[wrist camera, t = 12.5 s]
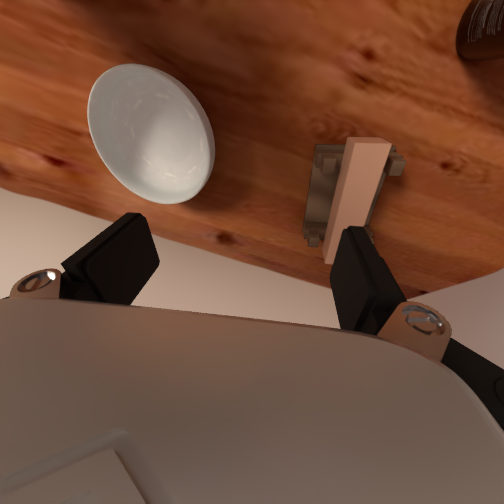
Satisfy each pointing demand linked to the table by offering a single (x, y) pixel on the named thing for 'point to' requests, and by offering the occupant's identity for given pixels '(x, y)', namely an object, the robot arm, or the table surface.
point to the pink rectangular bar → (354, 188)
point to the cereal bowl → (151, 133)
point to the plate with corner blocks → (325, 186)
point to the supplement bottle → (482, 31)
